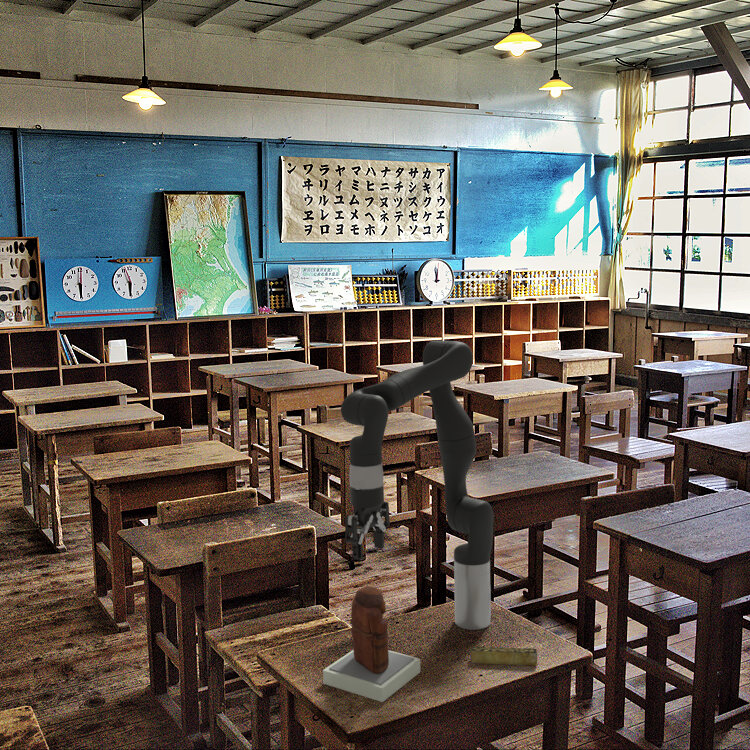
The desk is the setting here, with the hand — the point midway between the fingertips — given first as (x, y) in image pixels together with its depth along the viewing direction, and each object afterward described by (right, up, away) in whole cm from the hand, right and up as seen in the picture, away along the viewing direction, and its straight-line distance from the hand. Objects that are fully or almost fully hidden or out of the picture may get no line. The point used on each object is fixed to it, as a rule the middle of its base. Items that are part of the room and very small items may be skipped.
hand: (368, 553), depth 195 cm
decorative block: (+32, -28, +10) cm, 44 cm away
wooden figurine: (+1, -26, +4) cm, 26 cm away
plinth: (+1, -29, +4) cm, 30 cm away
